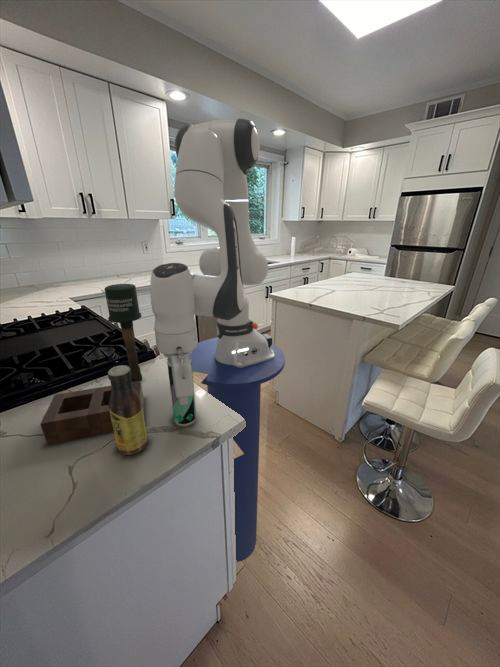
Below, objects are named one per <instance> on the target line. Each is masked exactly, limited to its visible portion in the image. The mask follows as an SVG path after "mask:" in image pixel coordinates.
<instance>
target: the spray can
mask: <svg viewBox="0 0 500 667" xmlns="http://www.w3.org/2000/svg"><path fill="white" fill-rule="evenodd" d="M166 358H167V357H166ZM189 360H190V363H191V368H192V360H191V356H190V355H189ZM166 361H167V362H166V363H167V364H166V365H167V373H168V380H169V388H170V398H171V404H172V413H173V414H172V415H173V420H174V424H175V425H177V426H179V427H188V426H191V425H193V424H194V423H195V422H196V420H197V409H196V398H195V397H196V396H195V392H194V393H193V395H192V396H190V397H188V404H184V405H181V404H180V400H179V398H177V397H176V394H175V389H174V383H173V378H172V366H171V364H172V362H171V359H170V358H167V360H166ZM192 376H193V377H194V372H193V371H192ZM193 387H194V388H195V386H194V383H193Z"/></svg>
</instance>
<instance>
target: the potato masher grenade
mask: <svg viewBox="0 0 500 667" xmlns="http://www.w3.org/2000/svg"><path fill="white" fill-rule="evenodd" d="M104 295H105V299H106V305H107V310H108V315H109V316H108V321H109V322H111V323H115V324H116V323H117V324H119V326H120V328H121V329H120V330H121V334H122V338H123V339H122V340H123V341H124V347H125V352H126V357H127V362H128V363H127V364H128V367H129V368H130V370H131V382H136V381H141V382H142V381H143V375H142V370H141V367H140V364H139V359H138V353H137V347H136V342H135V329H134V321H137V320H139V319H141V318H142V312H140V305H139V300H138V292H137V287H136V285H135V284H132V283H116V284H109V285H107V286H105V287H104Z"/></svg>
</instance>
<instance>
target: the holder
mask: <svg viewBox="0 0 500 667" xmlns="http://www.w3.org/2000/svg"><path fill="white" fill-rule="evenodd" d="M132 385H133V388H134V389H135V390H137V391H138V392H139V395H140V399H141V405H142V408H143V415H144V416H145V398H144V392H143V385H142V381H136V382H132ZM111 391H112V387H111V385H105V386H99V387H93V388H87V389H80V390H74V391H69V392H63V393H56V394H54V395H53V397H52V400H51V401H50V403H49V406H48V408H47V409H46V411H45V414H44V416H43V417H42V419H41V421H40V427H41V430H42V433H43V436H44V439H45V442H46V444H47V446H51V445H55V444H60V443H65V442H69V441H70V442H71V441H74V440H79V439H84V438H87V437H93V436H97V435H103V434H108V433H114V430H113V426H112V421H111V417H110V412H109V408H108V406H109V401H110V396H111Z"/></svg>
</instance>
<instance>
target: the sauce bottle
mask: <svg viewBox="0 0 500 667" xmlns="http://www.w3.org/2000/svg"><path fill="white" fill-rule="evenodd" d="M107 377H108V380H109V382H110V386H111V387H112V391H111V396H110V401H109V406H108V408H109V412H110V417H111V421H112V426H113V430H114V431H113V435H114V439H115V443H116V447H117V449H118V451H119V452H120V453H121V454H122V455H125V456H130V455H131V456H132V455H135V454H138V453H140V452H141V451H142V450H144V449H145V448H146V445H147V442H148V441H147V437H148V435H147V428H146V424H145V423H146V422H145V414H144V415H143V408H142V405H141V399H140V395H139V392H138V391H137V390H135V389H134V388H133V385H132V382H131V370H130V368H129V365H123V364H122V365H117V366H113V367H111V368H110V369H109V370H108V371H107Z"/></svg>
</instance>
